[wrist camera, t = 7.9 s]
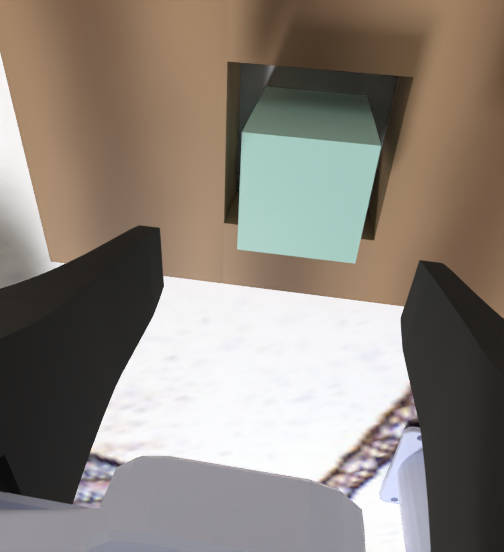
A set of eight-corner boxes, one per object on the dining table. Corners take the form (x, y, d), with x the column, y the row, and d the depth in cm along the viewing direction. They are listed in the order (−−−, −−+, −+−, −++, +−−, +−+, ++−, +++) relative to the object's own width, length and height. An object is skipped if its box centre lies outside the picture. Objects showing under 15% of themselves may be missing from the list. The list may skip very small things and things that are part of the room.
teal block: (366, 95, 18) (381, 145, 13) (349, 190, 20) (355, 263, 15) (265, 86, 18) (242, 131, 13) (259, 180, 20) (237, 249, 15)
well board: (680, -22, 14) (751, -19, 12) (527, 283, 21) (553, 325, 19) (25, -63, 16) (-29, -68, 14) (80, 230, 23) (50, 261, 21)
